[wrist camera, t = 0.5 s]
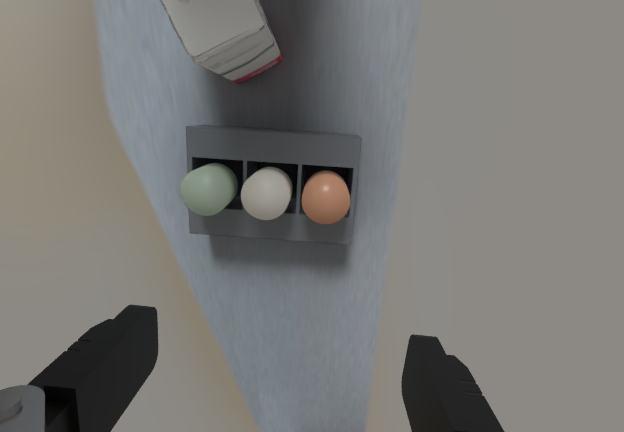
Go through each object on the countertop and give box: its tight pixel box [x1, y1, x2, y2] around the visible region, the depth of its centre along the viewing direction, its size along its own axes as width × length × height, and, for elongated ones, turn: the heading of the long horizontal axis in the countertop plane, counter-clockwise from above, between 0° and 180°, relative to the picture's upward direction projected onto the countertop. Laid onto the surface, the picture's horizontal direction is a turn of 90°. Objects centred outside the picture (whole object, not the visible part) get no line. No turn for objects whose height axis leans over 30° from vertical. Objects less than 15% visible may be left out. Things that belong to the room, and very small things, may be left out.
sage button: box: [180, 163, 238, 216], centre depth 28 cm, size 4×4×3 cm
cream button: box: [241, 167, 293, 220], centre depth 28 cm, size 4×4×3 cm
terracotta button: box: [302, 171, 350, 224], centre depth 28 cm, size 4×4×3 cm
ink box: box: [160, 0, 283, 84], centre depth 25 cm, size 9×5×12 cm, turn 25°
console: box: [186, 125, 362, 245], centre depth 32 cm, size 9×14×4 cm, turn 86°
